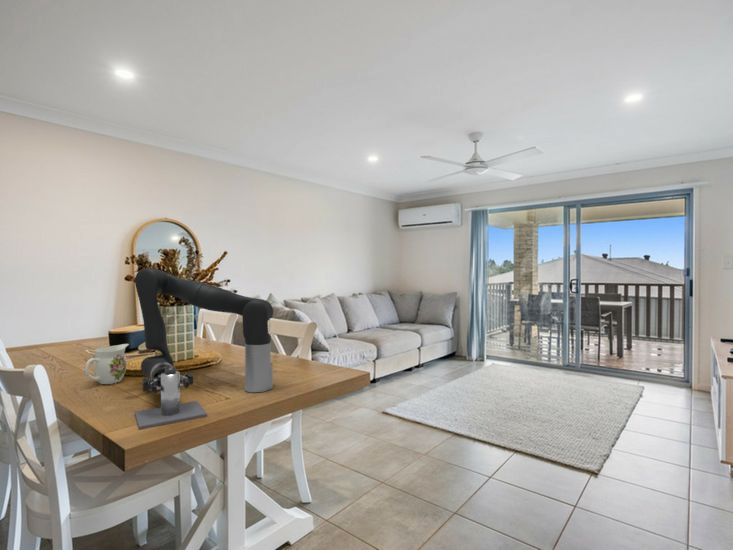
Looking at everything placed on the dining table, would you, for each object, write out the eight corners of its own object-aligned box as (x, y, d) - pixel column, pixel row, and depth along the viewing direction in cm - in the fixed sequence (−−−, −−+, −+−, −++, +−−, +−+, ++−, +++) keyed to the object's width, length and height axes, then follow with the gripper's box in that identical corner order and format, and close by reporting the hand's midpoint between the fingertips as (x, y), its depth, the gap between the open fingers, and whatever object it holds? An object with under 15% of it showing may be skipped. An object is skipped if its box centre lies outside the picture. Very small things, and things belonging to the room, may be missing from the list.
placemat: (197, 403, 133) (197, 400, 133) (206, 416, 121) (206, 413, 121) (134, 414, 123) (134, 411, 123) (138, 429, 111) (138, 426, 111)
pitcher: (74, 388, 149) (74, 351, 148) (118, 375, 166) (118, 343, 166) (96, 391, 145) (96, 353, 145) (138, 378, 162) (138, 344, 162)
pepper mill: (178, 408, 125) (178, 365, 125) (181, 413, 121) (181, 368, 121) (159, 411, 123) (159, 367, 122) (162, 416, 118) (162, 371, 118)
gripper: (139, 367, 130) (144, 378, 116) (186, 361, 138) (196, 371, 124) (139, 389, 130) (144, 404, 116) (186, 383, 138) (196, 395, 124)
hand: (171, 387), depth 120 cm, fingers open, 8 cm apart
